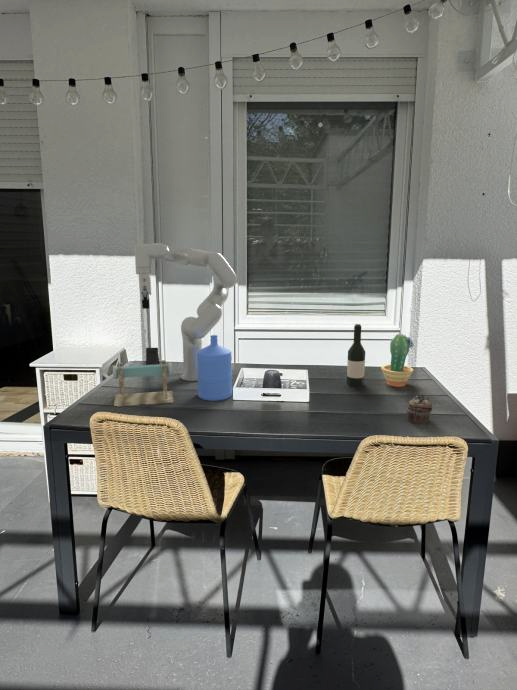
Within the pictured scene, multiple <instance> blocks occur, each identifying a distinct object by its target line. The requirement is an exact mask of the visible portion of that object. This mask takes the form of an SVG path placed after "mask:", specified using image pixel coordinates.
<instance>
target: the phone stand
mask: <svg viewBox="0 0 517 690" xmlns="http://www.w3.org/2000/svg"><path fill="white" fill-rule="evenodd" d="M145 353H146V354H145V365H156V364H161V362H160V356H159V348H158V347H146V348H145Z"/></svg>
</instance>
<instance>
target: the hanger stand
mask: <svg viewBox="0 0 517 690" xmlns="http://www.w3.org/2000/svg"><path fill="white" fill-rule="evenodd" d="M118 364H119V365H118V366H117V367H118V373H119V378H118V384H119V385H118V386H119V393H118V394H115V397H114V402H113V403H114V404H113V405H114V407H115V406H117V407H126V406H127V407H129V406H141V405H140V404H145V405H156V404H158V403H159V404H169V403H171V404H172V403H174V395H173V390H168V380H167V379H168V378H167V376H168V375H167V374H166V365H162V371H163V375H161V377H162V391H151V392H150V391H149V392H148V391H147V392H136V393H135V392H134V393H133V392H132V393H126V389H125V388H126V387H125V385H126V383H125V378H123V369H122V367H120V366H124V362H119V363H118ZM161 364H167V363H166V360H163V359H162V360H161Z"/></svg>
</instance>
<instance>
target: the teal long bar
mask: <svg viewBox="0 0 517 690" xmlns="http://www.w3.org/2000/svg"><path fill="white" fill-rule="evenodd" d="M162 365H166V374H167V376H168V377H172V376H173V365H172V361H170V362H167V363H166V364H162V363H160V364H156V365H146V364H144V365H143V364H140V365H123V366H120V367H122V369H123V378H124V379H125V378H136V377H137V378H138V377H157V376H159V377H160V376H162V375H163V371H162ZM118 367H119V366H117V365H114V364H113V365H112V378H113V380H118V379H119V373H118Z"/></svg>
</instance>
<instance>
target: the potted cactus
mask: <svg viewBox="0 0 517 690" xmlns="http://www.w3.org/2000/svg"><path fill="white" fill-rule="evenodd" d="M413 347H414V342H413V340H412V339H411V337H409V336H406V334H403V333H401V334H400V333H397V334H396V335H395V336H394V337H393V338H392V339H391V341H390V343H389V350H390V355H391V358H390V364H385V365H382V366H381V367H380V369H381V371H382V373H383V376H384V378H385V380H386V382H387V383H386V384H387V385H388V386H391V387H396V388H397V387H398V388H399V387H405V386H406V383H407V382H408V380H409V378H410V377H411V375H412V374H413V372H414V368H412V366H408V365H405V363H406V359H407V356H408V354H409V352H410V349H413Z"/></svg>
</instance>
